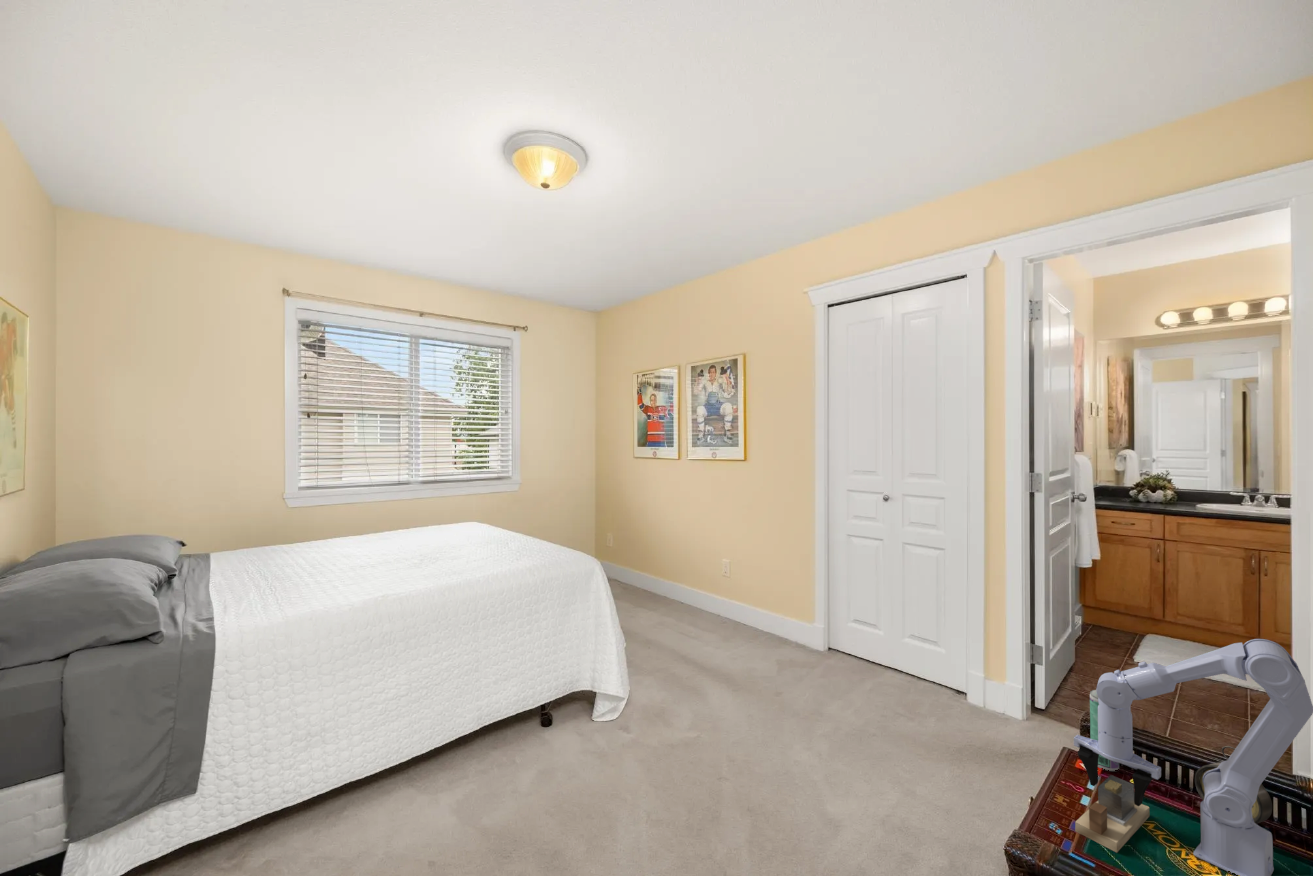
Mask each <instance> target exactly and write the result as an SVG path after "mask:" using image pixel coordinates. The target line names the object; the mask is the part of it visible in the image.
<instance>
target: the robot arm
mask: <svg viewBox="0 0 1313 876" xmlns="http://www.w3.org/2000/svg"><path fill="white" fill-rule="evenodd" d="M1218 675H1219V676H1220V675H1228V676H1230V677H1234V678H1236V679H1239V680H1242V681H1245V682H1246V681H1247V676H1249V677H1250V678H1251V679H1252V680H1253V681H1254V682H1255V683H1256V684H1257V685H1258V686H1260V687H1261V688H1262V689H1263V690H1264V692H1266V694H1267V696H1268V698H1269V699H1268V701H1267V703H1266V705H1264V707H1263V709H1262V710H1261V712H1260V713H1259V714H1258V716H1257V717H1256V719H1255V720H1254V722H1253V723H1252V724H1251V726H1250V728H1249V729H1248V730H1247V732H1246V733H1245V734H1244V736H1243V737H1242V739H1241V740H1240V741H1239V743H1238V744H1237V745H1236V747H1235V750H1234V749H1233V751H1232V753H1231V754H1230V756H1229V757H1228V759H1226V760H1223V761H1220V762H1221V763H1220V762H1219V763H1220V765H1219V766H1218V767H1217V768H1215V769H1212V770H1209V771H1207V772H1206V773H1205V774H1204V775H1203V784H1204V791H1205V798H1204V800H1202V801H1201V802H1200V803H1199V804H1200V843H1199V844H1198V845H1197V846H1196V848H1195V850H1194V851H1193V856H1195V857H1196V858H1198V859H1201V860H1203V861H1205V862H1206V863H1209V864H1212V865H1214V866H1216V867H1217V868H1219V869H1222V870H1224V871H1225V872H1228V871H1230V872H1231V873H1230V872H1229V873H1230V874H1232V873H1235V874H1236V875H1240V876H1272V874H1273V872H1274V870H1275V868H1274V861H1273V860H1274V849H1273V848H1274V846H1273V843H1274V842H1273V834H1272V832H1270V831H1269V830H1267V829H1265V828H1264V827H1261V826H1260V825H1258V823H1257V824H1256V823H1254V820H1253V818H1252V806H1253V804H1254V803H1255V802H1256V798H1257V795H1258V791H1259V787H1260V785H1261V784H1262V783H1263V782H1264V781H1265V780H1266V778H1267V777H1268V776H1269V774H1270V773H1271V771H1272V770H1273V769H1274V767H1275V766H1276V765H1277V763H1278V762H1279V760H1280V759H1281V757H1282V756H1283V755H1284V753H1285V752H1286V751H1287V749H1288V748H1289V747H1290V745H1291V744H1292V742H1293V741H1294V740H1295V739H1296V737H1297V736H1298V735H1299V733H1300V732H1301V730H1302V729H1303V728H1304V727H1305V725H1306V723H1307V722H1308V721H1309V720H1310V718H1311V717H1312V716H1313V702H1312V699H1311V696H1310V692H1309V690H1308V687H1307V684H1306V681H1305V679H1304V677H1303V675H1302V673H1301V670H1300V668H1299V665H1298V664H1297V662H1296V661H1295V660H1294V658H1293V657H1292V656H1291V654H1290V653H1289V652H1288V651H1287V650H1286V649H1285V648H1284V647H1283V646H1282V645H1280V644H1279V643H1278V642H1275V641H1273V640H1269V639H1266V638H1265V639H1264V638H1254V639H1250V640H1248V641H1246V642H1244V643H1243V641H1242V642H1235V643H1231V644H1229V645H1226V646H1222V647H1220V648H1217V649H1215V650H1211V651H1209V652H1205V653H1202V654H1199V655H1195V656H1193V657H1189V658H1187V659H1184V660H1181V661H1178V662H1175V663H1172V664H1169V665H1163V664H1159V663H1157V662H1150V663H1147V662H1146V661H1145V660H1144V661H1141V662H1138V666H1136V667H1132V668H1129V669H1126V670H1122V671H1121V670H1120V669H1116V670H1114V671H1113V672H1112V671H1111V672H1105V673H1103V674H1101V675H1100V677H1099V678H1098V681H1097V685H1096V689H1095V690H1097V695H1098V697H1099V698H1098V703H1099V705H1098V741H1097V740H1094V739H1091V737H1085V736H1083V735H1079V734H1076V735H1075V736H1074V737H1073V746H1074V747H1077V748H1078V749H1079V750H1077V756H1078V758H1079V759H1080V761H1081V763H1082V764H1083V766H1084V769H1085V771H1086V773H1087V776H1088V780H1089V784H1090V785H1091V786H1093V787H1095V786H1097V785H1098V783H1099V769H1098V768H1099V767H1098V758H1099V754H1100V755H1101V756H1103V757H1105V758H1107V759H1109V760H1111V761H1114V762H1118V763H1119V764H1122V765H1124V766H1127V767H1129V768H1131V769H1134V770H1136V771H1135V772H1134V773H1133V774H1132V775H1131V777H1132V781H1133V784H1134V803H1135V805H1137V806H1140V805H1141V804H1143V801H1144V796H1145V793H1146V791H1147V789H1148V787H1149V785H1150V784H1151V782H1152V780H1154V779H1155V780H1159V779H1160V778H1161V777H1162V767H1161V766H1159V765H1156V764H1154V763H1152V762H1150V761H1148V760H1146V759H1144V758H1143V757H1142V756H1139V755H1137V754H1135V753H1134V750H1133V749H1134V748H1133V743H1134V742H1133V738H1134V737H1133V714H1132V712H1131V710H1132V709H1131V705H1132V703H1133V701H1141V700H1145V699H1149V698H1154V697H1157V696H1161V695H1166V694H1169V693H1172V692H1173V693H1174V691H1176V686H1177V684H1179V683H1180V684H1181V683H1184V682H1185V683H1186V682H1190V681H1195V680H1198V679H1199V680H1200V679H1205V678H1209V677H1214V676H1218ZM1246 675H1247V676H1246ZM1236 875H1235V876H1236Z"/></svg>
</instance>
